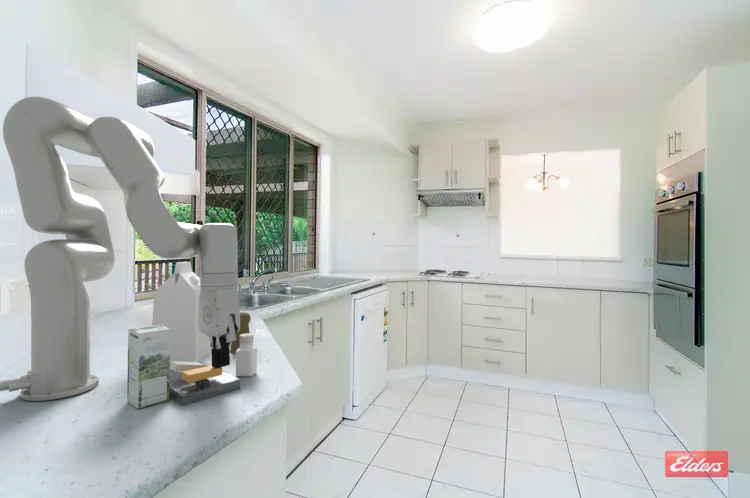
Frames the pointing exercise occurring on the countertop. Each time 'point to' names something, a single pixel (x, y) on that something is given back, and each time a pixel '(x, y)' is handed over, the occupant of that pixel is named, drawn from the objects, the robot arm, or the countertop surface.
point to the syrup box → (148, 365)
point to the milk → (181, 314)
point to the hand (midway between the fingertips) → (220, 365)
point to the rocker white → (185, 365)
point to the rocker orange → (201, 373)
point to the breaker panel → (201, 387)
